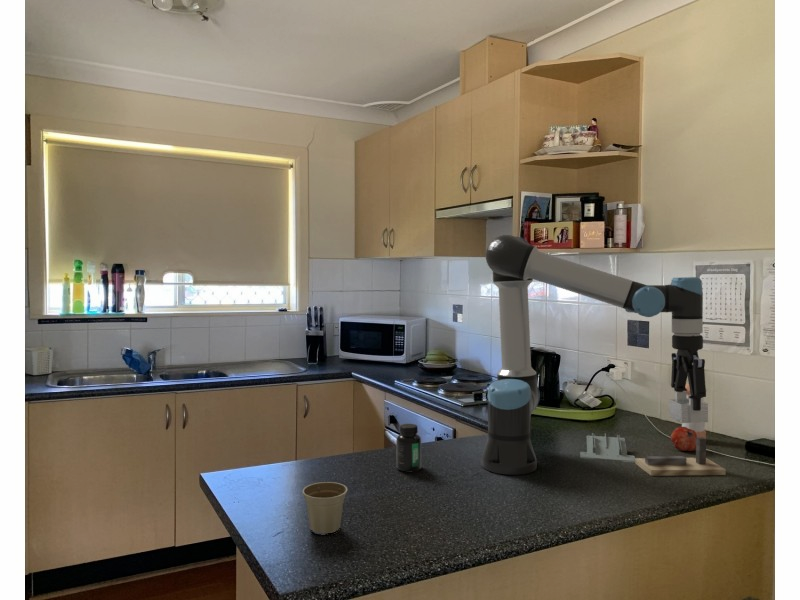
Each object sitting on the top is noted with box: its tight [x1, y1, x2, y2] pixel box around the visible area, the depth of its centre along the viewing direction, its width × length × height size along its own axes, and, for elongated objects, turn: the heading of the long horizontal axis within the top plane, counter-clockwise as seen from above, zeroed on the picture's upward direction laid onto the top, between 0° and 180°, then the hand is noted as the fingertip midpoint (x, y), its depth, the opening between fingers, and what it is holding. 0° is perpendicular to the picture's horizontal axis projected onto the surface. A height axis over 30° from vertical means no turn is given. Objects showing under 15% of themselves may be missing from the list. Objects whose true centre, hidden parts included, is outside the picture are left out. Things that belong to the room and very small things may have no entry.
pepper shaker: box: [681, 382, 707, 440], centre depth 188 cm, size 7×7×19 cm
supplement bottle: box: [395, 423, 422, 472], centre depth 162 cm, size 7×7×12 cm
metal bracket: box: [579, 432, 636, 463], centre depth 175 cm, size 14×6×15 cm
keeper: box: [634, 437, 727, 477], centre depth 161 cm, size 20×10×8 cm, turn 91°
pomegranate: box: [670, 426, 697, 452], centre depth 178 cm, size 7×7×10 cm
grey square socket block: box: [668, 398, 709, 424], centre depth 159 cm, size 7×7×5 cm
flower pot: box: [302, 481, 349, 533], centre depth 124 cm, size 9×9×9 cm
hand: (688, 418), depth 160 cm, fingers closed on grey square socket block, 7 cm apart
